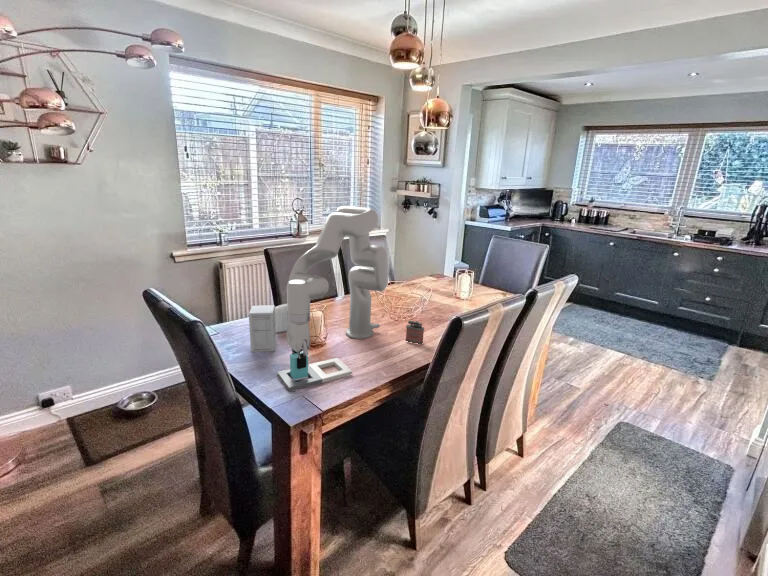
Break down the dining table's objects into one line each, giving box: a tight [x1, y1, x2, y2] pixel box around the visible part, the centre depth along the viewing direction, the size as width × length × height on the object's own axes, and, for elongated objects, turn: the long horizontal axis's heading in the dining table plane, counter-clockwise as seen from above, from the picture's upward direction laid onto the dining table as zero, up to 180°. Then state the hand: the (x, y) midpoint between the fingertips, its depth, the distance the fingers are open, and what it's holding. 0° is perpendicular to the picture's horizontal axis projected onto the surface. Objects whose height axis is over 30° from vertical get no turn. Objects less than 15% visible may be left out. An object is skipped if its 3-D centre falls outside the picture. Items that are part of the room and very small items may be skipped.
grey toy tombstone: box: [275, 303, 288, 333], centre depth 180 cm, size 10×4×12 cm, turn 123°
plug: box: [289, 351, 309, 381], centre depth 139 cm, size 5×4×8 cm
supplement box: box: [248, 304, 277, 353], centre depth 161 cm, size 10×9×17 cm
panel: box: [276, 357, 353, 392], centre depth 144 cm, size 24×12×2 cm, turn 123°
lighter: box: [404, 319, 425, 344], centre depth 174 cm, size 8×3×10 cm, turn 71°
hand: (299, 364), depth 139 cm, fingers closed on plug, 3 cm apart
